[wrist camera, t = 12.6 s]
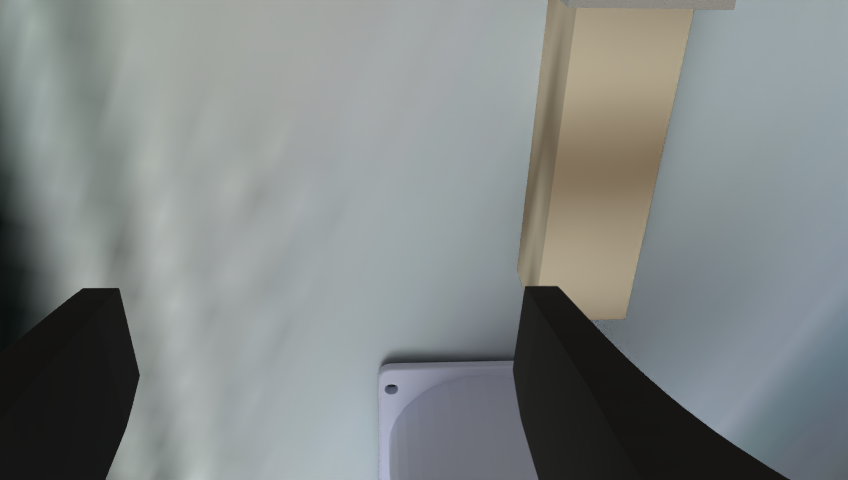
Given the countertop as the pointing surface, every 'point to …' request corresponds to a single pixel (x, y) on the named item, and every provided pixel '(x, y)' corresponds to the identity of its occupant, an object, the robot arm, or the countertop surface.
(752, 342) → the countertop surface
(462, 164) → the countertop surface
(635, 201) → the capped square post
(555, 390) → the robot arm
